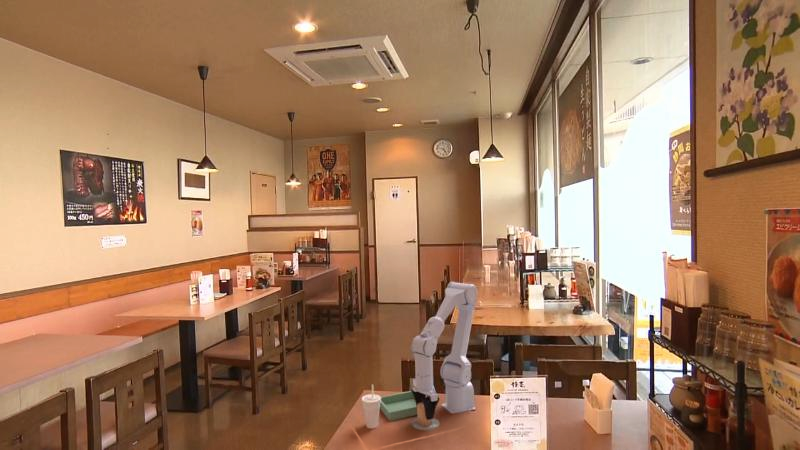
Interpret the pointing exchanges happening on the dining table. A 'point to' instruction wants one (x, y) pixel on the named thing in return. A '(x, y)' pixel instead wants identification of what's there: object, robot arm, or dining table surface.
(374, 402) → the smoothie
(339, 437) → the dining table surface
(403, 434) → the dining table surface
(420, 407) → the salmon pink cylinder
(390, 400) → the pale green open box
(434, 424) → the saucer
